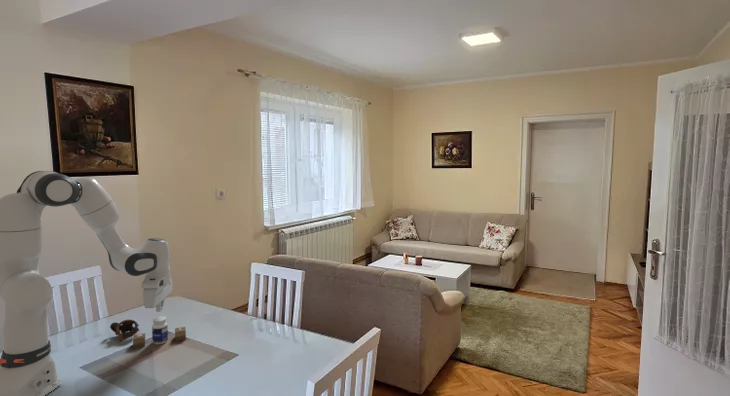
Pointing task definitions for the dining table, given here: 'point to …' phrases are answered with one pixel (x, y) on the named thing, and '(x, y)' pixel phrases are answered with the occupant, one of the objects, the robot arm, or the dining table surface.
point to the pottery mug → (125, 329)
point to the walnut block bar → (180, 333)
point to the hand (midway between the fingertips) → (159, 310)
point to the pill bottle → (159, 330)
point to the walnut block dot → (139, 340)
